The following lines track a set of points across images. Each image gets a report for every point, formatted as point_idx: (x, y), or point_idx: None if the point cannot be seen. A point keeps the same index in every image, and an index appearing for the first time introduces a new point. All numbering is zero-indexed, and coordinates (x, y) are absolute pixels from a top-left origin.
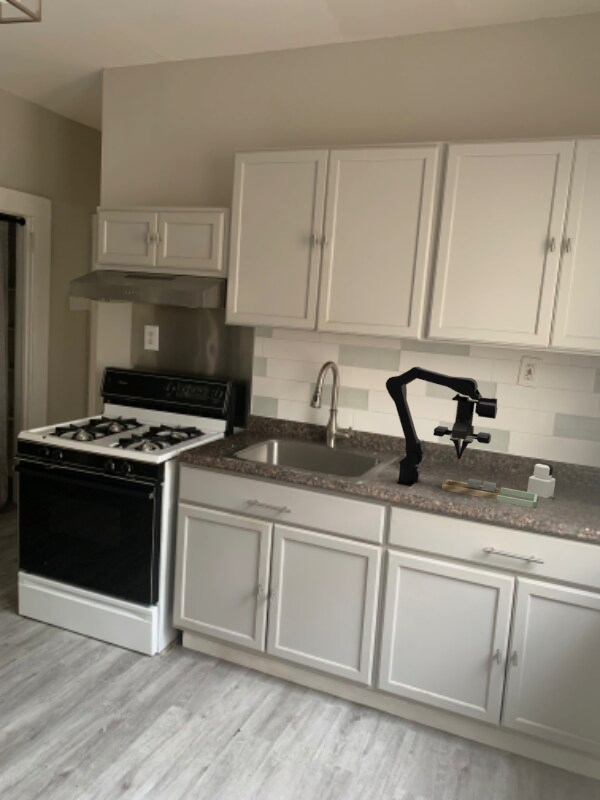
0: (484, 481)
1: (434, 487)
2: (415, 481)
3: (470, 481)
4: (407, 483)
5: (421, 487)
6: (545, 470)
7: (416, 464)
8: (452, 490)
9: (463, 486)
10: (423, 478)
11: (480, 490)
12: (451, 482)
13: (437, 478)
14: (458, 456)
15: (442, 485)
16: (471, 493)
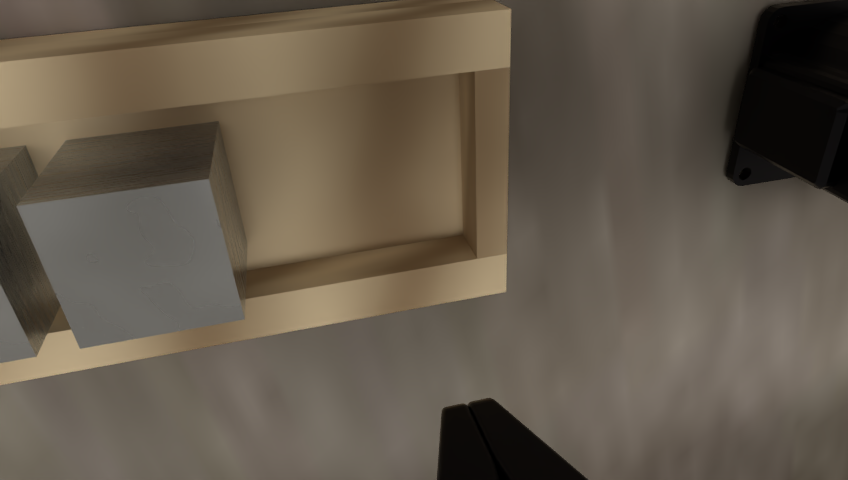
0: (17, 332)
1: (575, 148)
2: (783, 66)
3: (168, 184)
4: (838, 12)
5: (690, 41)
6: None
7: None
8: (364, 13)
9: (313, 268)
10: (686, 335)
11: None
12: (447, 255)
13: (588, 416)
14: (500, 432)
15: (505, 6)
16: (110, 40)
